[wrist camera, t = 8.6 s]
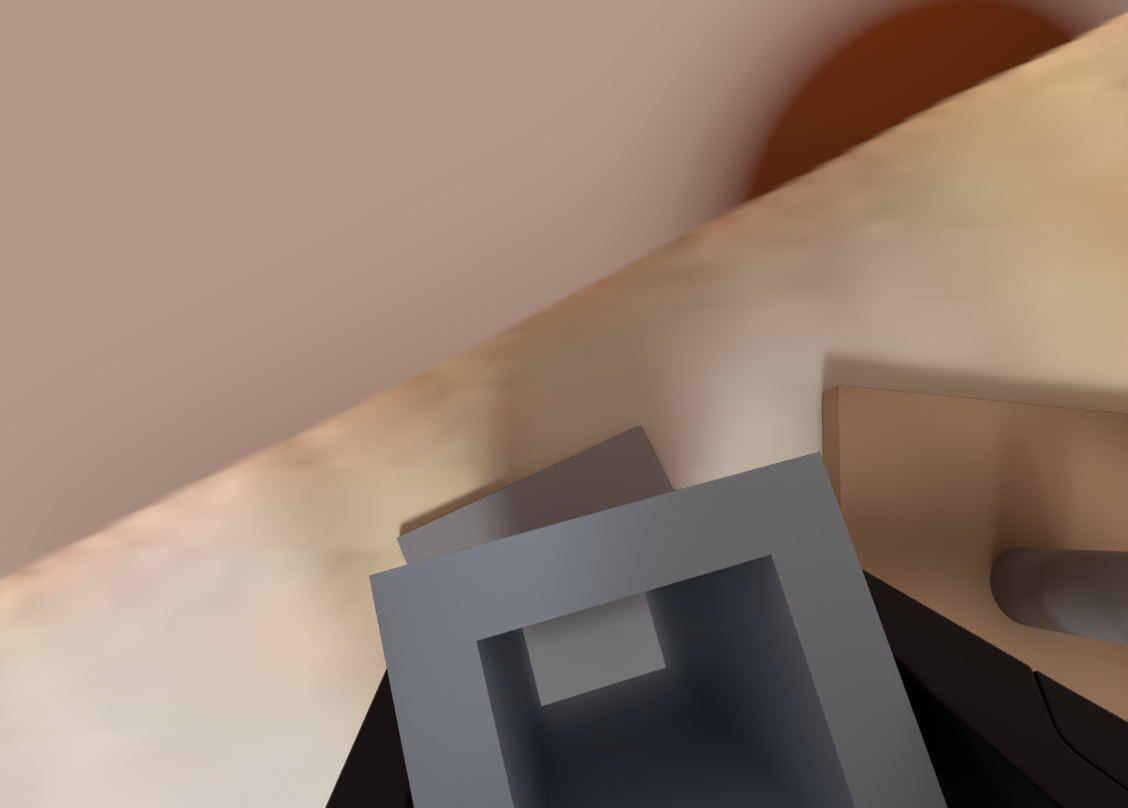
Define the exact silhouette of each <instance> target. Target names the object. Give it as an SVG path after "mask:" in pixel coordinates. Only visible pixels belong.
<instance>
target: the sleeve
mask: <svg viewBox="0 0 1128 808" xmlns="http://www.w3.org/2000/svg"><path fill="white" fill-rule="evenodd" d="M369 578H370V583H371V588H372V593H373V598H374V604H375V609H376V614H377V619H378V624H379V629H380V635H381V640H382V645H383V650H384V655H385V660H386V666H387V671H388V676H389V681H390V686H391V691H392V697H393V702H394V707H395V712H396V717H397V722H398V727H399V733H400V738H401V743H402V748H403V753H404V758H405V764H406V769H407V774H408V779H409V784H410V789H411V795H412V800H413V805H414V808H948V807H947V805H946V802H945V799H944V796H943V793H942V791H941V788H940V785H939V782H938V780H937V777H936V774H935V771H934V768H933V766H932V763H931V760H930V757H929V755H928V752H927V749H926V746H925V743H924V741H923V738H922V735H921V732H920V730H919V727H918V724H917V721H916V718H915V716H914V713H913V710H912V707H911V705H910V702H909V699H908V696H907V693H906V691H905V688H904V685H903V682H902V680H901V677H900V674H899V671H898V668H897V666H896V663H895V660H894V657H893V654H892V652H891V649H890V646H889V643H888V641H887V638H886V635H885V632H884V629H883V627H882V624H881V621H880V618H879V616H878V613H877V610H876V607H875V604H874V602H873V599H872V596H871V593H870V591H869V588H868V585H867V582H866V579H865V577H864V574H863V571H862V568H861V566H860V563H859V560H858V557H857V554H856V552H855V549H854V546H853V543H852V541H851V538H850V535H849V532H848V529H847V527H846V524H845V521H844V518H843V516H842V513H841V510H840V507H839V504H838V502H837V499H836V496H835V493H834V491H833V488H832V485H831V482H830V479H829V477H828V474H827V471H826V468H825V465H824V463H823V460H822V457H821V454H820V452H817V453H813V454H809V455H805V456H802V457H798V458H794V459H791V460H787V461H783V462H780V463H776V464H772V465H769V466H765V467H761V468H758V469H754V470H750V471H746V472H743V473H739V474H735V475H732V476H728V477H724V478H721V479H717V480H713V481H710V482H706V483H702V484H699V485H695V486H691V487H687V488H684V489H680V490H676V491H673V492H669V493H665V494H662V495H658V496H654V497H651V498H647V499H643V500H640V501H636V502H632V503H629V504H625V505H622V506H618V507H614V508H611V509H607V510H603V511H600V512H596V513H592V514H589V515H585V516H582V517H578V518H574V519H571V520H567V521H563V522H560V523H556V524H552V525H549V526H545V527H542V528H538V529H534V530H531V531H527V532H523V533H520V534H516V535H512V536H509V537H505V538H502V539H498V540H494V541H491V542H487V543H483V544H480V545H476V546H472V547H469V548H465V549H462V550H458V551H455V552H451V553H447V554H444V555H440V556H437V557H433V558H430V559H426V560H423V561H419V562H416V563H412V564H408V565H405V566H401V567H398V568H394V569H391V570H387V571H384V572H380V573H377V574H373V575H369ZM642 592H645V595H646V599H647V602H648V606H649V610H650V613H651V617H652V620H653V624H654V627H655V631H656V634H657V638H658V641H659V645H660V648H661V652H662V655H663V659H664V662H665V666H666V668H663V669H659V670H656V671H653V672H650V673H647V674H643V675H640V676H637V677H634V678H630V679H627V680H624V681H621V682H617V683H614V684H611V685H608V686H605V687H601V688H598V689H595V690H592V691H588V692H585V693H582V694H579V695H576V696H572V697H569V698H566V699H563V700H559V701H556V702H553V703H550V704H546V705H543V706H541V702H540V698H539V694H538V690H537V685H536V681H535V677H534V673H533V669H532V665H531V661H530V656H529V652H528V648H527V644H526V640H525V636H524V631H523V627H526V626H529V625H532V624H536V623H539V622H543V621H546V620H549V619H553V618H556V617H560V616H563V615H567V614H570V613H573V612H577V611H580V610H584V609H587V608H590V607H594V606H597V605H601V604H604V603H607V602H611V601H614V600H618V599H621V598H624V597H628V596H631V595H635V594H638V593H642Z"/></svg>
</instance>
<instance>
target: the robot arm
mask: <svg viewBox="0 0 1128 808" xmlns="http://www.w3.org/2000/svg"><path fill="white" fill-rule="evenodd" d="M862 571H863V574H864V577H865V579H866V582H867V585H868V588H869V591H870V593H871V596H872V599H873V602H874V604H875V607H876V610H877V613H878V616H879V618H880V621H881V624H882V627H883V629H884V632H885V635H886V638H887V641H888V643H889V646H890V649H891V652H892V654H893V657H894V660H895V663H896V666H897V668H898V671H899V674H900V677H901V680H902V682H903V685H904V688H905V691H906V693H907V696H908V699H909V702H910V705H911V707H912V710H913V713H914V716H915V718H916V721H917V724H918V727H919V730H920V732H921V735H922V738H923V741H924V743H925V746H926V749H927V752H928V755H929V757H930V760H931V763H932V766H933V768H934V771H935V774H936V777H937V780H938V782H939V785H940V788H941V791H942V793H943V796H944V799H945V802H946V805H947V807H948V808H1128V721H1126V720H1125V719H1123V718H1121V717H1119V716H1117V715H1116V714H1114V713H1112V712H1110V711H1108V710H1107V709H1105V708H1103V707H1101V706H1099V705H1098V704H1096V703H1094V702H1092V701H1091V700H1089V699H1087V698H1085V697H1083V696H1082V695H1080V694H1078V693H1076V692H1074V691H1073V690H1071V689H1069V688H1067V687H1066V686H1064V685H1062V684H1060V683H1059V682H1057V681H1055V680H1054V679H1052V678H1050V677H1048V676H1047V675H1045V674H1043V673H1042V672H1040V671H1034V672H1033V670H1032V668H1031V667H1030V666H1029V665H1027V664H1026V663H1024V662H1022V661H1020V660H1019V659H1017V658H1015V657H1014V656H1012V655H1010V654H1008V653H1007V652H1005V651H1003V650H1001V649H1000V648H998V647H996V646H995V645H993V644H991V643H989V642H988V641H986V640H984V639H983V638H981V637H979V636H977V635H976V634H974V633H972V632H970V631H969V630H967V629H965V628H964V627H962V626H960V625H958V624H957V623H955V622H953V621H951V620H950V619H948V618H946V617H945V616H943V615H941V614H939V613H938V612H936V611H934V610H933V609H931V608H929V607H927V606H926V605H924V604H922V603H920V602H919V601H917V600H915V599H914V598H912V597H910V596H908V595H907V594H905V593H903V592H902V591H900V590H898V589H896V588H895V587H893V586H891V585H889V584H888V583H886V582H884V581H883V580H881V579H879V578H877V577H876V576H874V575H872V574H870V573H869V572H867V571H865V570H864V569H862ZM325 808H414V805H413V800H412V795H411V789H410V784H409V779H408V774H407V769H406V764H405V758H404V753H403V748H402V743H401V738H400V733H399V727H398V722H397V717H396V712H395V707H394V702H393V697H392V691H391V686H390V681H389V676H388V671H387V669H386V671H385V673H384V675H383V678H382V680H381V682H380V685H379V687H378V689H377V691H376V694H375V696H374V698H373V701H372V703H371V705H370V707H369V710H368V712H367V714H366V716H365V719H364V721H363V723H362V726H361V728H360V730H359V732H358V735H357V737H356V739H355V741H354V744H353V746H352V748H351V751H350V753H349V755H348V757H347V760H346V762H345V764H344V766H343V769H342V771H341V773H340V776H339V778H338V780H337V782H336V785H335V787H334V789H333V792H332V794H331V796H330V798H329V801H328V803H327V805H326V807H325Z"/></svg>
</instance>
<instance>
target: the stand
mask: <svg viewBox="0 0 1128 808" xmlns="http://www.w3.org/2000/svg"><path fill="white" fill-rule="evenodd" d="M823 463H824V465H825V468H826V471H827V474H828V477H829V479H830V482H831V485H832V488H833V491H834V493H835V496H836V499H837V502H838V504H839V507H840V510H841V513H842V516H843V518H844V521H845V524H846V527H847V529H848V532H849V535H850V538H851V541H852V543H853V546H854V549H855V552H856V554H857V557H858V560H859V563H860V566H861V568H862V569H864V570H865V571H867V572H869V573H870V574H872V575H874V576H876V577H877V578H879V579H881V580H883V581H884V582H886V583H888V584H889V585H891V586H893V587H895V588H896V589H898V590H900V591H902V592H903V593H905V594H907V595H908V596H910V597H912V598H914V599H915V600H917V601H919V602H920V603H922V604H924V605H926V606H927V607H929V608H931V609H933V610H934V611H936V612H938V613H939V614H941V615H943V616H945V617H946V618H948V619H950V620H951V621H953V622H955V623H957V624H958V625H960V626H962V627H964V628H965V629H967V630H969V631H970V632H972V633H974V634H976V635H977V636H979V637H981V638H983V639H984V640H986V641H988V642H989V643H991V644H993V645H995V646H996V647H998V648H1000V649H1001V650H1003V651H1005V652H1007V653H1008V654H1010V655H1012V656H1014V657H1015V658H1017V659H1019V660H1020V661H1022V662H1024V663H1026V664H1027V665H1029V666H1030V667H1031V668H1032V670H1033V672H1034V671H1040V672H1042V673H1043V674H1045V675H1047V676H1048V677H1050V678H1052V679H1054V680H1055V681H1057V682H1059V683H1060V684H1062V685H1064V686H1066V687H1067V688H1069V689H1071V690H1073V691H1074V692H1076V693H1078V694H1080V695H1082V696H1083V697H1085V698H1087V699H1089V700H1091V701H1092V702H1094V703H1096V704H1098V705H1099V706H1101V707H1103V708H1105V709H1107V710H1108V711H1110V712H1112V713H1114V714H1116V715H1117V716H1119V717H1121V718H1123V719H1125V720H1126V721H1128V414H1121V413H1111V412H1101V411H1091V410H1081V409H1071V408H1061V407H1051V406H1041V405H1031V404H1021V403H1011V402H1001V401H991V400H981V399H971V398H961V397H951V396H941V395H931V394H921V393H911V392H901V391H891V390H881V389H871V388H861V387H850V386H840V385H838V386H836V387H834V388H832V389H830V390H827V391H825V392H823Z"/></svg>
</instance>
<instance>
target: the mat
mask: <svg viewBox="0 0 1128 808" xmlns="http://www.w3.org/2000/svg"><path fill="white" fill-rule="evenodd" d="M669 492H673V489H672V487H671V485H670V483H669V481H668V479H667V477H666V475H665V473H664V471H663V469H662V467H661V465H660V463H659V461H658V459H657V457H656V455H655V453H654V451H653V449H652V447H651V445H650V443H649V441H648V439H647V437H646V435H645V433H644V431H643V429H642V427H641V425H640V426H638V427H636V428H634V429H632V430H630V431H627V432H625V433H623V434H621V435H619V436H616V437H614V438H612V439H610V440H608V441H606V442H603V443H601V444H599V445H597V446H595V447H593V448H590V449H588V450H586V451H584V452H582V453H580V454H577V455H575V456H573V457H571V458H569V459H567V460H564V461H562V462H560V463H558V464H556V465H554V466H551V467H549V468H547V469H545V470H543V471H541V472H538V473H536V474H534V475H532V476H530V477H527V478H525V479H523V480H521V481H519V482H517V483H514V484H512V485H510V486H508V487H506V488H504V489H501V490H499V491H497V492H495V493H493V494H491V495H488V496H486V497H484V498H482V499H480V500H478V501H475V502H473V503H471V504H469V505H467V506H465V507H462V508H460V509H458V510H456V511H454V512H452V513H449V514H447V515H445V516H443V517H441V518H438V519H436V520H434V521H432V522H430V523H428V524H425V525H423V526H421V527H419V528H417V529H415V530H412V531H410V532H408V533H406V534H404V535H402V536H399V537H397V540H398V543H399V545H400V548H401V550H402V552H403V555H404V557H405V560H406V562H407V565H408V564H412V563H416V562H419V561H423V560H426V559H430V558H433V557H437V556H440V555H444V554H447V553H451V552H455V551H458V550H462V549H465V548H469V547H472V546H476V545H480V544H483V543H487V542H491V541H494V540H498V539H502V538H505V537H509V536H512V535H516V534H520V533H523V532H527V531H531V530H534V529H538V528H542V527H545V526H549V525H552V524H556V523H560V522H563V521H567V520H571V519H574V518H578V517H582V516H585V515H589V514H592V513H596V512H600V511H603V510H607V509H611V508H614V507H618V506H622V505H625V504H629V503H632V502H636V501H640V500H643V499H647V498H651V497H654V496H658V495H662V494H665V493H669ZM523 631H524V636H525V640H526V644H527V648H528V652H529V656H530V661H531V665H532V669H533V673H534V677H535V681H536V685H537V690H538V694H539V698H540V702H541V706H543V705H546V704H550V703H553V702H556V701H559V700H563V699H566V698H569V697H572V696H576V695H579V694H582V693H585V692H588V691H592V690H595V689H598V688H601V687H605V686H608V685H611V684H614V683H617V682H621V681H624V680H627V679H630V678H634V677H637V676H640V675H643V674H647V673H650V672H653V671H656V670H659V669H663V668H666V666H665V662H664V659H663V655H662V652H661V648H660V645H659V641H658V638H657V634H656V631H655V627H654V624H653V620H652V617H651V613H650V610H649V606H648V602H647V599H646V595H645V592H642V593H638V594H635V595H631V596H628V597H624V598H621V599H618V600H614V601H611V602H607V603H604V604H601V605H597V606H594V607H590V608H587V609H584V610H580V611H577V612H573V613H570V614H567V615H563V616H560V617H556V618H553V619H549V620H546V621H543V622H539V623H536V624H532V625H529V626H526V627H523Z"/></svg>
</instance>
